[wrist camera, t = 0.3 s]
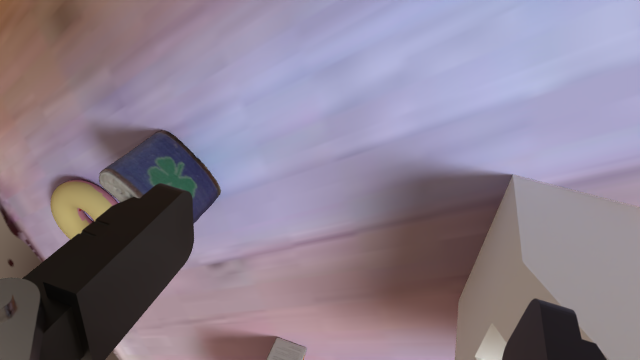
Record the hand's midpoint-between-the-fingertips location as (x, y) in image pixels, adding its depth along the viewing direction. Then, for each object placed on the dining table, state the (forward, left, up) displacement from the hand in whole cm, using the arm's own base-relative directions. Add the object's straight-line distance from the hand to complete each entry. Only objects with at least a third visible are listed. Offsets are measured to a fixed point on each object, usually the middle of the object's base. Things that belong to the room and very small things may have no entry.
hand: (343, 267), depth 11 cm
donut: (+30, -34, -29) cm, 54 cm away
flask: (+19, -21, -29) cm, 40 cm away
